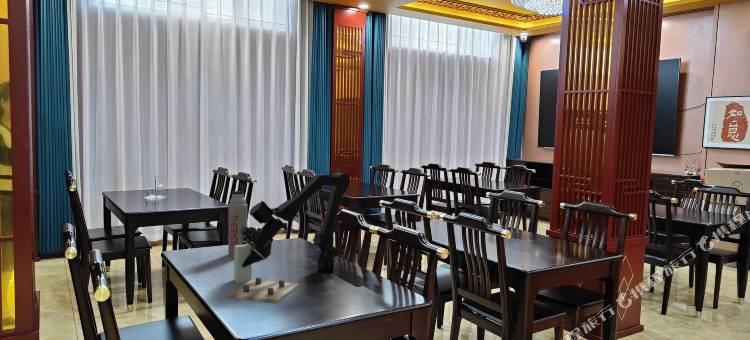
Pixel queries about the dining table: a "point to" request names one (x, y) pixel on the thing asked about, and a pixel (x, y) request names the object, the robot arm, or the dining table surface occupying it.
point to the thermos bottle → (236, 220)
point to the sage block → (239, 257)
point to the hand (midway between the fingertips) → (239, 263)
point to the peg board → (263, 290)
